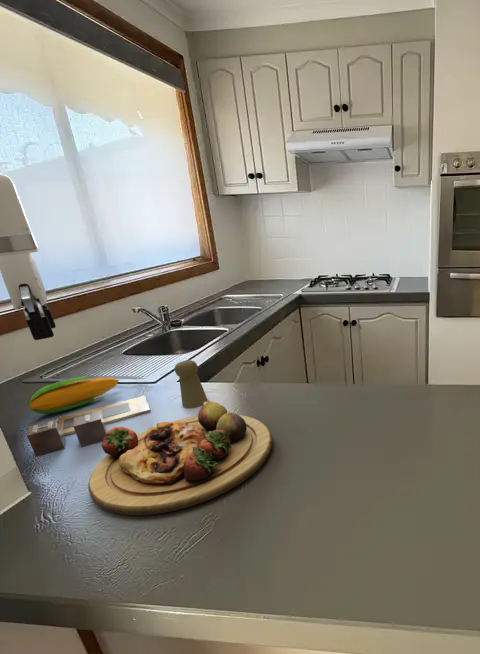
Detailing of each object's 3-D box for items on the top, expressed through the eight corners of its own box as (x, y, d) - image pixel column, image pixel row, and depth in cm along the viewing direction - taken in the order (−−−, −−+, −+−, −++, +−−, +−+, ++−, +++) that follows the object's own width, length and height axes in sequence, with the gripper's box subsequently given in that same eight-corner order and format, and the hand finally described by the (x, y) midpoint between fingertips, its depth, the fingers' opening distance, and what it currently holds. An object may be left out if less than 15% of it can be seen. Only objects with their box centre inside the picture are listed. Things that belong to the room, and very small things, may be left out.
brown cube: (81, 447, 89) (73, 426, 87) (81, 437, 93) (73, 417, 91) (108, 439, 92) (100, 418, 90) (107, 430, 96) (100, 410, 94)
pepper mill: (192, 410, 102) (181, 367, 98) (177, 405, 106) (165, 364, 102) (212, 399, 107) (203, 359, 103) (197, 396, 110) (187, 356, 106)
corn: (20, 387, 104) (109, 362, 117) (31, 414, 107) (117, 387, 120) (25, 396, 99) (118, 370, 112) (37, 424, 102) (126, 395, 115)
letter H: (35, 456, 87) (26, 435, 85) (37, 446, 91) (28, 426, 89) (64, 448, 89) (56, 427, 88) (65, 438, 93) (57, 418, 91)
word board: (52, 439, 94) (51, 436, 93) (55, 421, 102) (53, 418, 102) (150, 411, 103) (149, 409, 103) (145, 397, 112) (144, 394, 112)
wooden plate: (48, 500, 73) (29, 459, 70) (184, 415, 100) (175, 383, 97) (194, 537, 62) (180, 490, 58) (302, 430, 89) (296, 394, 86)
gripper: (-7, 247, 84) (27, 329, 91) (-23, 250, 71) (18, 347, 77) (39, 242, 88) (68, 322, 94) (32, 244, 74) (67, 337, 81)
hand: (45, 333), depth 86 cm, fingers open, 9 cm apart
